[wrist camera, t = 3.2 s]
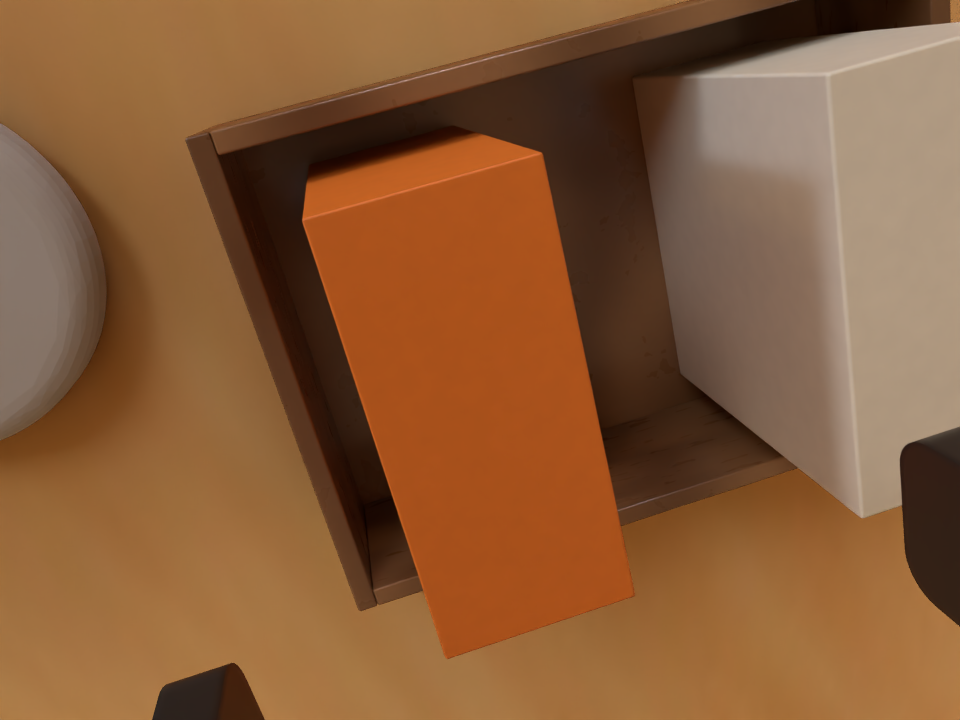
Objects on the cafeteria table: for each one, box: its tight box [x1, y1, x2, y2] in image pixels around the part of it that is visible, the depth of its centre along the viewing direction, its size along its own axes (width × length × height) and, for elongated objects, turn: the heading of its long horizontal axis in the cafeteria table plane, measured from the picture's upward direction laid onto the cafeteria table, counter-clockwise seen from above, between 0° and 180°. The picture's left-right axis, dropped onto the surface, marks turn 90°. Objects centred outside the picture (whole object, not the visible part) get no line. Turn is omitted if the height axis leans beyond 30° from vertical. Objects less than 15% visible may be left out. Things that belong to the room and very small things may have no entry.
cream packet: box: [633, 22, 960, 518], centre depth 19 cm, size 4×9×9 cm, turn 14°
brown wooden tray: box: [186, 0, 951, 611], centre depth 21 cm, size 17×12×5 cm
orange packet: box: [302, 126, 635, 659], centre depth 18 cm, size 4×9×9 cm, turn 14°
